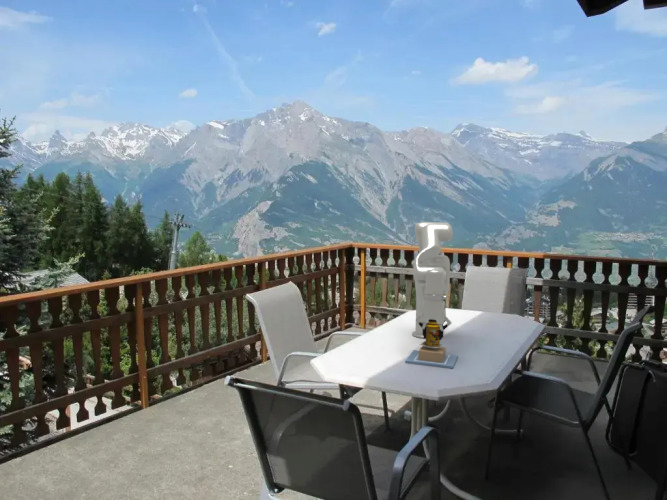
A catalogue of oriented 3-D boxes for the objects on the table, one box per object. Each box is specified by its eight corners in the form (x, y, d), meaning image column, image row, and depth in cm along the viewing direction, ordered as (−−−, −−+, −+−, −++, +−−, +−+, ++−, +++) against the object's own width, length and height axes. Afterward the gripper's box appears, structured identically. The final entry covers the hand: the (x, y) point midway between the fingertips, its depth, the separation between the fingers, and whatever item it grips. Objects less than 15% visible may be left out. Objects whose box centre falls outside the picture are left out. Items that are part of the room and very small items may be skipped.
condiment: (437, 348, 216) (438, 320, 215) (418, 345, 221) (419, 318, 220) (442, 344, 223) (443, 317, 222) (424, 341, 227) (425, 315, 226)
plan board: (413, 352, 233) (413, 341, 233) (457, 357, 227) (458, 346, 226) (405, 363, 217) (405, 351, 216) (452, 368, 210) (453, 357, 209)
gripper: (455, 297, 220) (454, 338, 221) (416, 295, 226) (414, 334, 227) (453, 300, 213) (451, 342, 214) (412, 297, 219) (411, 338, 220)
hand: (432, 338), depth 221 cm, fingers closed on condiment, 6 cm apart
